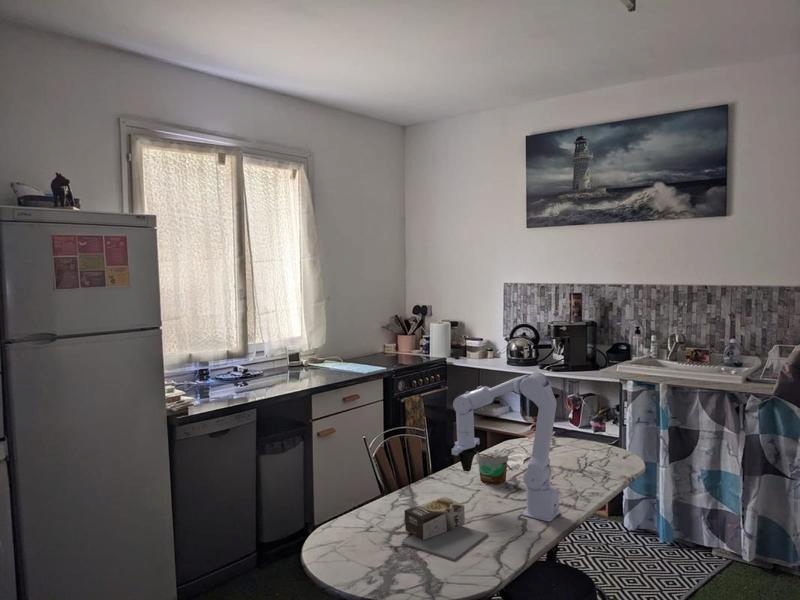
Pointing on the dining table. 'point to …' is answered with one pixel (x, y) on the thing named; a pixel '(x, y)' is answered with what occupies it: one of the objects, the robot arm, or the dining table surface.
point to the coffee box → (434, 518)
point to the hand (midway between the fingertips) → (466, 470)
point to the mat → (448, 542)
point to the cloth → (517, 464)
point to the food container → (492, 468)
